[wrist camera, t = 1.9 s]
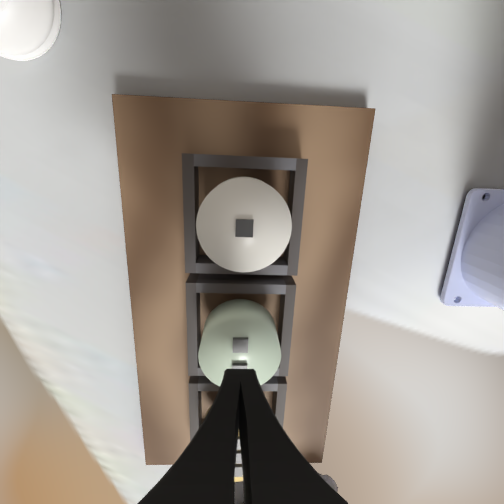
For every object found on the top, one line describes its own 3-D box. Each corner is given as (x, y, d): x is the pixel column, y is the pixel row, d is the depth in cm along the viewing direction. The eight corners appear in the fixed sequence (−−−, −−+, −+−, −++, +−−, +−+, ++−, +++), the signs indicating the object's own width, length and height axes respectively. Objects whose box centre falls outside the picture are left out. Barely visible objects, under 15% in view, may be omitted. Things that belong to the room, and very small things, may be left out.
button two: (278, 299, 17) (284, 322, 14) (273, 362, 18) (278, 393, 15) (203, 298, 16) (196, 321, 14) (204, 361, 18) (198, 393, 15)
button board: (367, 112, 16) (390, 102, 14) (318, 450, 24) (327, 483, 21) (119, 98, 16) (96, 85, 13) (149, 452, 23) (138, 487, 20)
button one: (286, 178, 15) (296, 180, 12) (281, 258, 16) (288, 274, 13) (202, 174, 14) (194, 176, 12) (203, 256, 16) (196, 272, 13)
